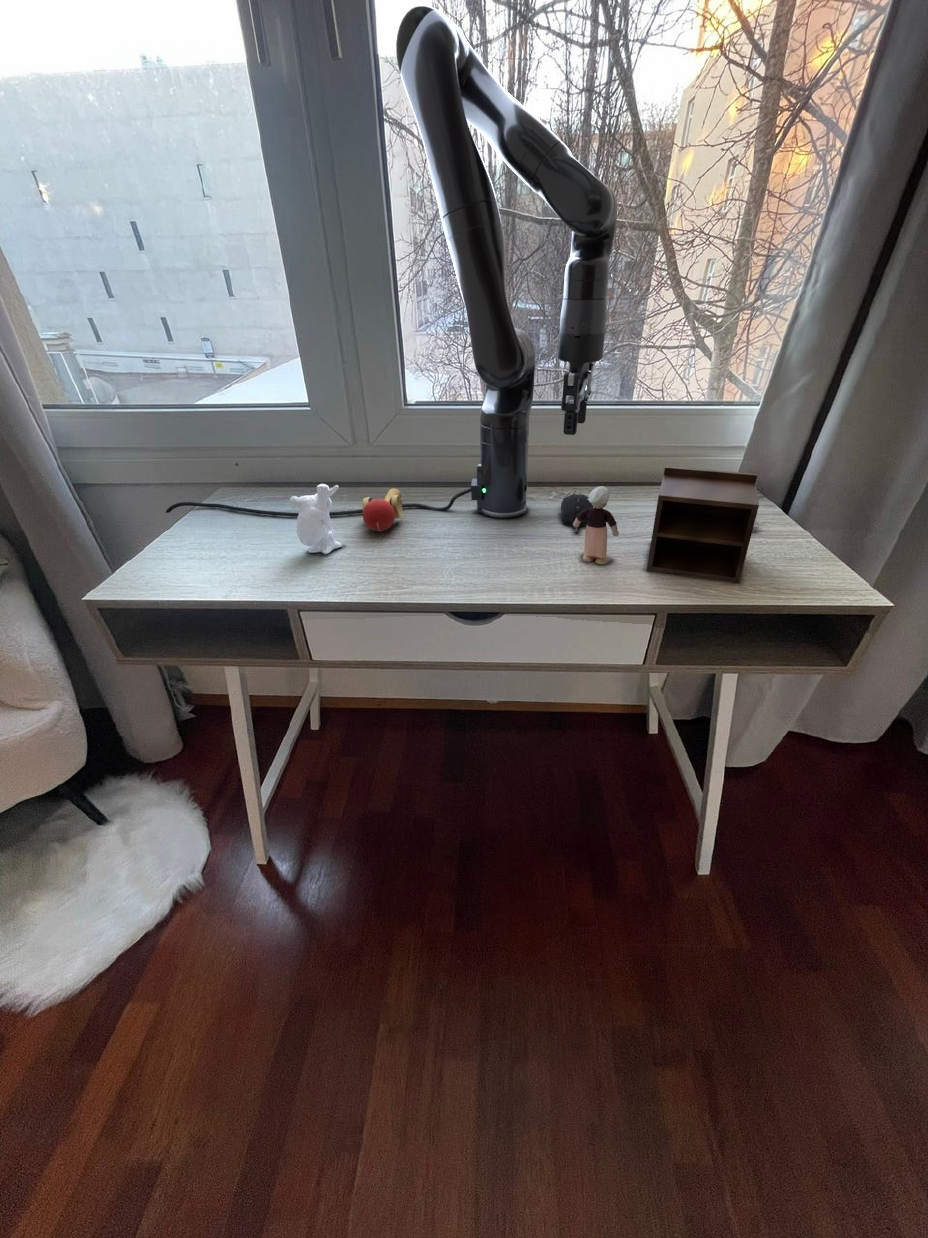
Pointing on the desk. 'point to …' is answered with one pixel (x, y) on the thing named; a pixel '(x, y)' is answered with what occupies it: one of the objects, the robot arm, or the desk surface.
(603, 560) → the grandmother figurine
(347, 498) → the desk surface
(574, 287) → the robot arm
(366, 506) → the kendama
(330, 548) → the white sculpted figure
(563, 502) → the gaming mouse
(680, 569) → the rack
